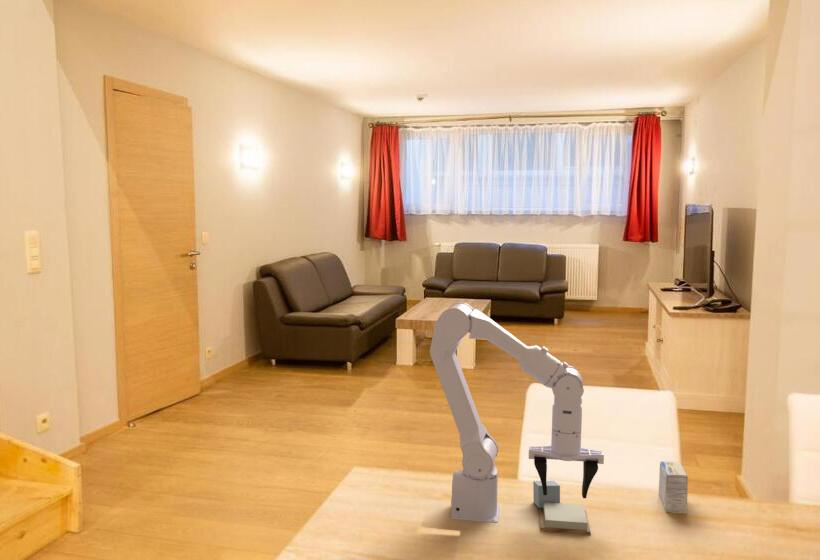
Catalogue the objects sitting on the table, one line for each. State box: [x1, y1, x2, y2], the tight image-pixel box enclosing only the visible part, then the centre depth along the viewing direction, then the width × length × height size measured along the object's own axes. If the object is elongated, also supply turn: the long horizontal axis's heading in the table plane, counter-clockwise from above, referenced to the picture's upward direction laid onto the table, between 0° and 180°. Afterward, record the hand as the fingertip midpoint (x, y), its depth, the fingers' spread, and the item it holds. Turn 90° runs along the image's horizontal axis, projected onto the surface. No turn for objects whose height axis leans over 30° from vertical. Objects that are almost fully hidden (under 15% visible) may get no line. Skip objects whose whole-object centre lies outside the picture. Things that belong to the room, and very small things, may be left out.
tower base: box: [538, 508, 592, 536], centre depth 134 cm, size 10×10×2 cm
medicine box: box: [658, 460, 689, 514], centre depth 140 cm, size 8×4×9 cm, turn 168°
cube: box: [532, 480, 561, 509], centre depth 140 cm, size 4×4×4 cm
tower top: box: [544, 502, 588, 530], centre depth 133 cm, size 8×8×2 cm
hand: (564, 494), depth 133 cm, fingers open, 7 cm apart
